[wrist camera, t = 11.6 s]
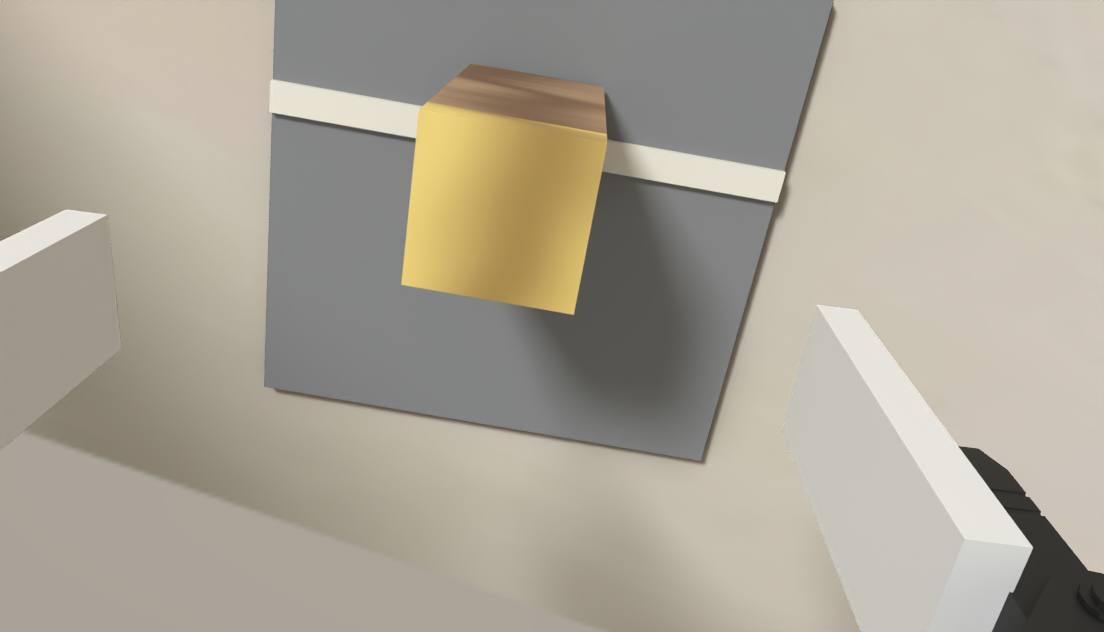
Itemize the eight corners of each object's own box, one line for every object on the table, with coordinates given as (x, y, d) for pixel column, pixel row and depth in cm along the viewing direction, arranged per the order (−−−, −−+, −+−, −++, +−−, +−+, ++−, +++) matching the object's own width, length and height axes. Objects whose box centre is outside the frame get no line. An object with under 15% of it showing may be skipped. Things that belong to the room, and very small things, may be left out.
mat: (268, 380, 38) (261, 389, 37) (284, -105, 29) (275, -107, 29) (699, 453, 38) (701, 464, 37) (830, -4, 30) (837, -3, 29)
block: (455, 191, 33) (401, 284, 23) (471, 63, 31) (418, 109, 21) (579, 213, 33) (573, 314, 24) (603, 86, 31) (607, 143, 22)
